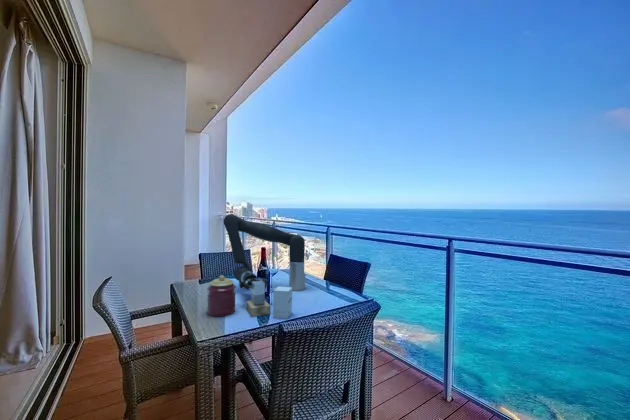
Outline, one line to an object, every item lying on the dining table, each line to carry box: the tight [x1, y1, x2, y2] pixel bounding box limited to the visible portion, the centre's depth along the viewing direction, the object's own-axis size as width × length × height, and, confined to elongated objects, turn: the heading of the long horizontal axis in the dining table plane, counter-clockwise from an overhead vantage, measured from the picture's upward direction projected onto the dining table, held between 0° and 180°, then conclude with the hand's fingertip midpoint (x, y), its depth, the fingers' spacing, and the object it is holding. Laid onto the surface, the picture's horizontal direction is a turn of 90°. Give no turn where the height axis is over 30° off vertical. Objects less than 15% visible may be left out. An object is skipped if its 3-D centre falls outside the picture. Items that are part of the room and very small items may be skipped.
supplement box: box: [272, 286, 293, 320], centre depth 139 cm, size 7×7×13 cm
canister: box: [206, 274, 237, 317], centre depth 141 cm, size 13×13×18 cm
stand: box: [245, 299, 271, 318], centre depth 143 cm, size 9×11×4 cm
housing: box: [250, 281, 266, 306], centre depth 143 cm, size 5×6×10 cm
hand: (256, 286), depth 147 cm, fingers open, 8 cm apart
